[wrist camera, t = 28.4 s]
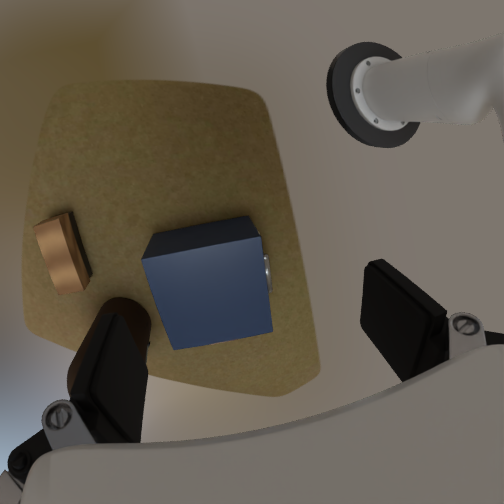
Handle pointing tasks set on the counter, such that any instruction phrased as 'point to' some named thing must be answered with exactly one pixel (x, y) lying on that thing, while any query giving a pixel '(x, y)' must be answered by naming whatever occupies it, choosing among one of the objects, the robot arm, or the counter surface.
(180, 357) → the counter surface
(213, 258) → the blue drawer box
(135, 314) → the olive oil
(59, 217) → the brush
